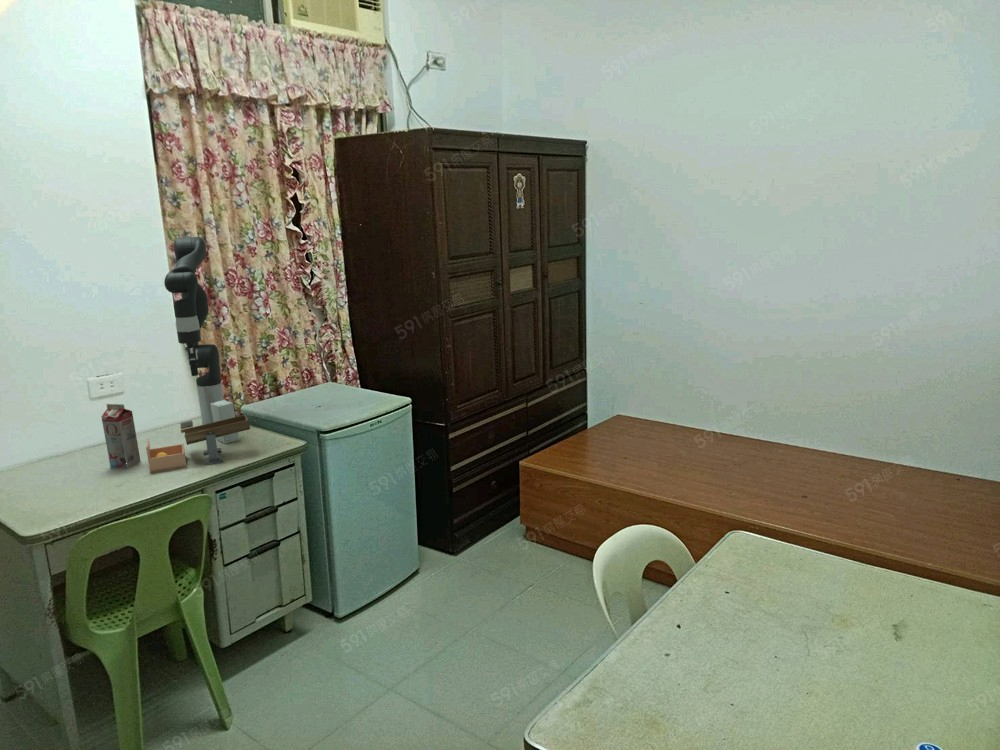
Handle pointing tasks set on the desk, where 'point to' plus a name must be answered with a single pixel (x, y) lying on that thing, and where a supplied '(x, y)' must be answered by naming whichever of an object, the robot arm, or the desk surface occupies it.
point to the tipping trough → (214, 428)
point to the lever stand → (212, 450)
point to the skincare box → (222, 412)
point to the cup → (166, 458)
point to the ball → (161, 454)
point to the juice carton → (120, 436)
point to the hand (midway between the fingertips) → (194, 373)
